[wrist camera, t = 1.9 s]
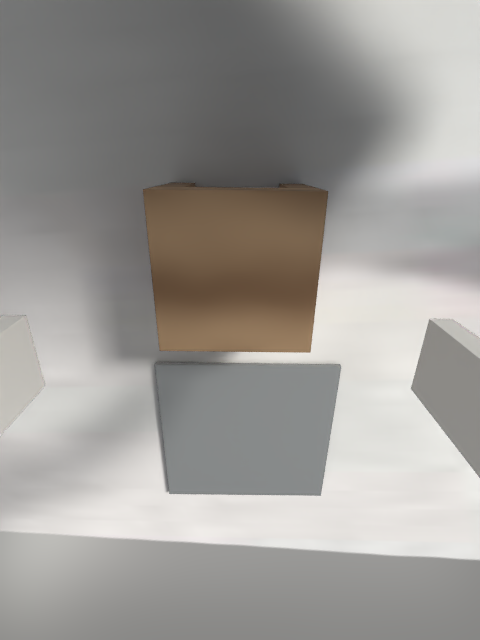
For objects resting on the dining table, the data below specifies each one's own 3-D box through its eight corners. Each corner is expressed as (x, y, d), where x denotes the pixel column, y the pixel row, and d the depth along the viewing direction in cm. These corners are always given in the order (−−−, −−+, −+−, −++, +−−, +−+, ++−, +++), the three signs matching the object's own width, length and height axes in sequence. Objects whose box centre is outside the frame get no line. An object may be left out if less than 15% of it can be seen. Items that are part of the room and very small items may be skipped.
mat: (155, 362, 29) (154, 364, 29) (339, 364, 29) (341, 366, 29) (170, 490, 36) (169, 493, 35) (319, 492, 36) (320, 495, 35)
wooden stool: (172, 182, 23) (142, 189, 16) (302, 183, 23) (328, 191, 16) (180, 304, 27) (159, 350, 20) (292, 305, 27) (310, 352, 20)
